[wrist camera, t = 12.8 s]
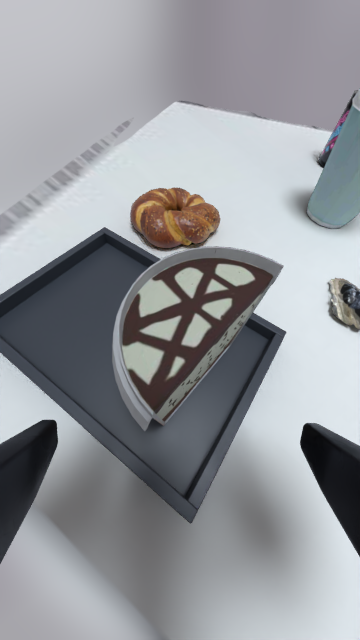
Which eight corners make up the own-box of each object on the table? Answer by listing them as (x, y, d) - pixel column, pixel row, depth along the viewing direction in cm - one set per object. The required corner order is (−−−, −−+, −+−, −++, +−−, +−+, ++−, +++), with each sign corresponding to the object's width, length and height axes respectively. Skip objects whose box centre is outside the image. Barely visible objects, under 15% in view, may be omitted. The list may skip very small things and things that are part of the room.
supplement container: (328, 155, 49) (365, 88, 40) (356, 169, 46) (402, 100, 37) (310, 162, 46) (346, 92, 37) (339, 177, 44) (385, 105, 35)
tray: (187, 517, 15) (191, 524, 13) (-22, 330, 21) (-38, 318, 19) (277, 341, 23) (286, 331, 21) (107, 240, 29) (104, 226, 27)
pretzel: (214, 207, 35) (220, 182, 31) (220, 256, 29) (227, 231, 26) (136, 200, 34) (134, 173, 31) (126, 249, 28) (122, 222, 25)
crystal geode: (338, 334, 24) (351, 325, 22) (309, 278, 28) (319, 267, 27) (394, 332, 25) (410, 323, 23) (358, 277, 29) (369, 267, 27)
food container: (190, 301, 24) (209, 215, 16) (238, 336, 22) (288, 261, 14) (97, 386, 19) (46, 326, 10) (150, 442, 17) (142, 425, 8)
